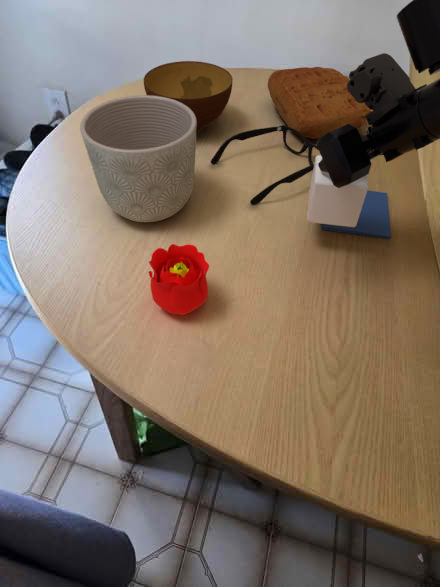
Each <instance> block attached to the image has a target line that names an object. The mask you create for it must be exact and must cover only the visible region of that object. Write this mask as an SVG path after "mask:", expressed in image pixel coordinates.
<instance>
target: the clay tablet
mask: <svg viewBox="0 0 440 587" xmlns="http://www.w3.org/2000/svg"><path fill="white" fill-rule="evenodd" d="M349 80H350V78H349V76H347V75H344V74H343V73H342V72H341V71H339V70H337V69H335V68H330V67H321V66H314V67H306V66H305V67H296V68H285V69H279V70H275V71H273V72H272V73H271V74H270V75H269V77H268V79H267V88H268V92H269V96H270V98H271V101H272V103H273V105H274V107H275V109H276V110H277V112H278V114H279V116H280V117H281V119H282V120H283V121H284V123H285V124H286V126H288V127H290V128H293V129H295V130H297V131H298V132H300V133H301V134H303V135H304V136H305V137H306V138H308V139H318V138H320V137H321V136H323V135H325V134H327V133H328V132H330V131H333V130H335V129H337V128H339V127H342V126H344V125H346V124H351V125H353V126H355V127H357V128H360V127H362V126H363V125H364V124H365V123H367V119H366V117H365V115H366V114H368V113H370V112H371V111H372V110H371V109H369V108H368V107H367V106H366V105H365V103H358V102H357V101H356V100H355V99H354V98H353V96H352V95H351V94H350V93H349V91H348V90H347V83H348V82H349Z"/></svg>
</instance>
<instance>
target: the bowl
mask: <svg viewBox="0 0 440 587" xmlns="http://www.w3.org/2000/svg"><path fill="white" fill-rule="evenodd" d="M143 89H144V91H145V94H146V95H150V96H160V97H165V98H169V99H173V100H176V101H178V102H180V103H182V104H184V105H186V106H187V107H189V108H190V109H191V110H192V111H193V113H194V114H195V117H196V121H197V127H196V134H197V133H201V132H202V131H203V130H204V129H205V128H206V127H207V126H209V125H211V124H212V123H213V122H215V121H216V120H217V119H218V118H219V117H220V116H221V115H222V113H223V112H224V110H225V109H226V107H227V105H228V103H229V100H230V98H231V94H232V90H233V76H232V74H231V73H230V72H229V71H228V70H227V69H225V68H224V67H221V66H219V65H216V64H213V63H210V62H206V61H205V62H204V61H197V60H196V61H195V60H184V61H183V60H181V61H173V62H167V63H163V64H160V65H158V66H155V67H154V68H152V69H150V70H149V71H148V72H146V73H145V75H144V77H143Z"/></svg>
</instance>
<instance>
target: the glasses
mask: <svg viewBox="0 0 440 587" xmlns="http://www.w3.org/2000/svg"><path fill="white" fill-rule="evenodd" d="M288 131H290V132H292V133H294V134H295V135H297V136H299V137H301V139H302V141H304V144H303V145H302V147H301V148H300V150H299V151H298V150H295V149H293V148H292V147H290V146H289V144H288V143H287V133H288ZM275 132H282V143H283V145H284V147H285V148H286V149H287V150H289V151H290V152H291V153H293V154H294V155H295V154H296V155H302V154H303V153H306V151H307V158H308V160H307V161H308V163H309V166H306V167H303V168H301V169H298V170H297V171H295V172H292V173H291V174H289V175H287V176H285V177H283V178H281V179H279V180H277V181H275V182H273V183H272V184H269V185H268V186H267V187H265V188H264V189H263V190H261V191H260V192H259V193H257V194H256V195H255V196H253V197H252V198H251V199H250V201H249V203H250V204H251V205H257V204H259V203H261V202H263V200H264V199H265V198H266V197H268V195H270V193H272V192H273V190H274V189H276V188H277V187H278V186H280V185H282V184H291V183H293V182H295V181H297V180H299V179H300V178H302V177H304V176H305V175H307V174H309V173H310V172H313V169H314V164H315V163H313V159H312V157H313V150H314V148H315V149H316V150H317V151H319V149H318V147H317V144H315V143H312V142H311V141H310V140H309V138H308V137H305V136H304V135H303V134H301V133H300V132H298V131H297V130H295V129H293V128H290V127H289V126H288V125H284V124H282V125H279V126H270V127H269V126H268V127H262V128H256V129H251V130H246V131H243V132H239V133H237V134H234V135H233V136H231V137H229V138H227V139H226V140H225V141H224V142H223V143H222V144H221V146H220V147H219V148H218V149H217V151H216V152H215V153H214V156H213V157H212V158H211V160H210V164H212V165H215V164H217V163H218V162H219V161H220V159H221V157H222V155H224V152H225V151H226V149H227V147H228V146H229V144H231V142H233V141H245V140H248V139H252V138H255V137H259V136H263V135H267V134H271V133H275Z"/></svg>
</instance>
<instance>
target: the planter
mask: <svg viewBox="0 0 440 587" xmlns="http://www.w3.org/2000/svg"><path fill="white" fill-rule="evenodd" d="M196 127H197V121H196V117H195V114H194V113H193V111H192V110H191V109H190V108H189V107H187V106H186V105H184V104H182V103H180V102H178V101H176V100H173V99H169V98H165V97H160V96H150V95H145V94H142V95H140V94H139V95H127V96H121V97H117V98H113V99H110V100H107V101H105V102H102V103H100V104H98V105H96V106H94V107H93V108H92V109H90V110H89V111H88V112H86V114H84V116H83V117H82V118H81V121H80V124H79V132H80V134H81V137H82V140H83V144H84V147H85V150H86V152H87V156H88V159H89V162H90V164H91V167H92V168H91V169H92V171H93V174H94V178H95V180H96V184H97V186H98V189H99V191H100V193H101V195H102V197H103V199H104V201H105V202H106V203H107V205H108V206H109V207H110V209H112V210H113V212H115V213H116V214H118V215H119V216H121V217H123V218H124V219H128V220H130V221H134V222H138V223H153V222H154V223H155V222H160V221H163V220H166V219H168V218H171V217H174V215H175V214H177V213H178V212H179V211H181V210H182V209H183V208H184V207H185V206H186V204H187V203H188V200H189V199H190V197H191V195H192V192H193V188H194V182H195V170H196V169H195V168H196V149H197V148H196V146H197V133H196Z"/></svg>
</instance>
